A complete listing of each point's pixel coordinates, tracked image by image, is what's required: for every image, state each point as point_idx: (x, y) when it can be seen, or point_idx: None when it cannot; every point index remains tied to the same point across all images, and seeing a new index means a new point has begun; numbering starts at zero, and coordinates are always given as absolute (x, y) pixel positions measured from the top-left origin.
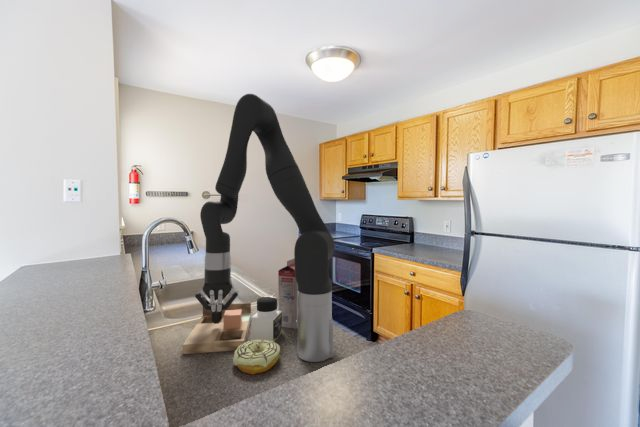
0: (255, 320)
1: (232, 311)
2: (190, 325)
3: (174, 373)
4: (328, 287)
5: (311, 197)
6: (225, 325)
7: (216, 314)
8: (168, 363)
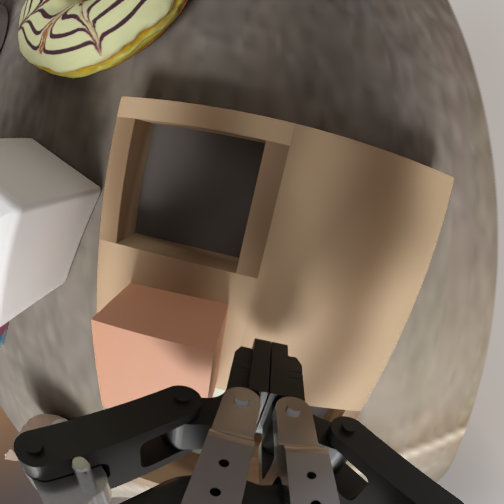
0: (12, 187)
1: None
2: None
3: (436, 30)
4: None
5: None
6: (212, 311)
7: (268, 379)
8: (470, 118)
